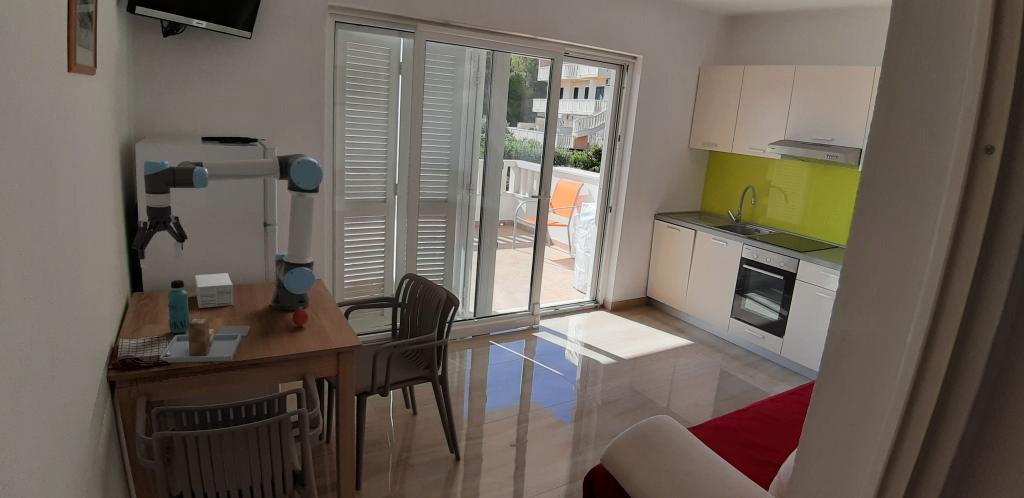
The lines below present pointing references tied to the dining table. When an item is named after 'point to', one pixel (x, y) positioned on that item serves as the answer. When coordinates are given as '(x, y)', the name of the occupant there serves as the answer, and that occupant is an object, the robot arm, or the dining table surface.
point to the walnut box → (198, 337)
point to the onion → (300, 317)
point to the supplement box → (214, 290)
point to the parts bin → (218, 352)
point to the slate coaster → (234, 330)
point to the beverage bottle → (178, 308)
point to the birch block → (211, 337)
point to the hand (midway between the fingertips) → (162, 263)
